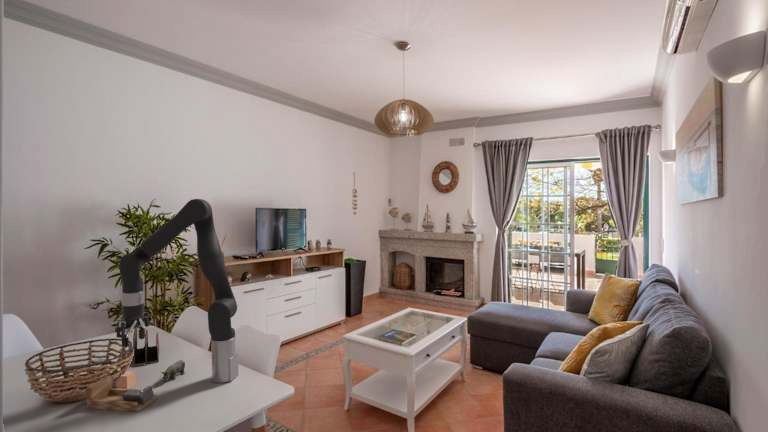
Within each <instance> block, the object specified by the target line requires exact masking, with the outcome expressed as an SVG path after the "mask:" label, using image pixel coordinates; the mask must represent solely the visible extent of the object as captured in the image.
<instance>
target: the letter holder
mask: <svg viewBox="0 0 768 432" xmlns="http://www.w3.org/2000/svg"><path fill="white" fill-rule="evenodd" d="M133 330H134V332H133V337H132V350H133V349H134V356H133V355H132V366H135V367H140V366H139V365H141V366H145V365H144V364H146V365H151V363H152V364H156V363H159V361H160V343H159V341H160V340H159V333H158V332H156V337H155V341H156V342H155V345H152V346H149V337H148V336H149V335H148V329H145V338H144V346H143V347H139V348H138V327H136V328H134V329H133Z"/></svg>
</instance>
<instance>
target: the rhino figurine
mask: <svg viewBox="0 0 768 432" xmlns="http://www.w3.org/2000/svg"><path fill="white" fill-rule="evenodd" d="M185 367H186V363H185V361H184V360H183V359H179V360H178V361H176V362H175V363H173V364H170V365H169V366H168V367H167V368H166V370H165V371H161V372H160V373H161V374H163V376H162V378H161V379H160V381H161V382H162V383H163V384H165V383H167V381H168V380H169V379H170V380H172V381H176V380H177V378H176V375H177V374H178V373H180V375H185V373H186V372H185Z"/></svg>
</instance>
